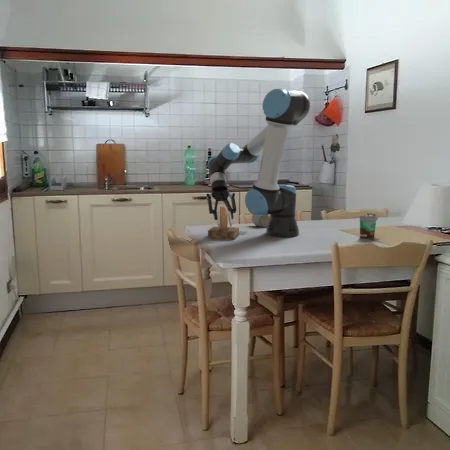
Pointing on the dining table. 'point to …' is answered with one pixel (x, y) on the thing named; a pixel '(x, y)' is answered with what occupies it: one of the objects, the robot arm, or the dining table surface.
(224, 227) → the dowel
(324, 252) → the dining table surface
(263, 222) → the grey beige can
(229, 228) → the socket block
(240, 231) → the mat
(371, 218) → the food container
